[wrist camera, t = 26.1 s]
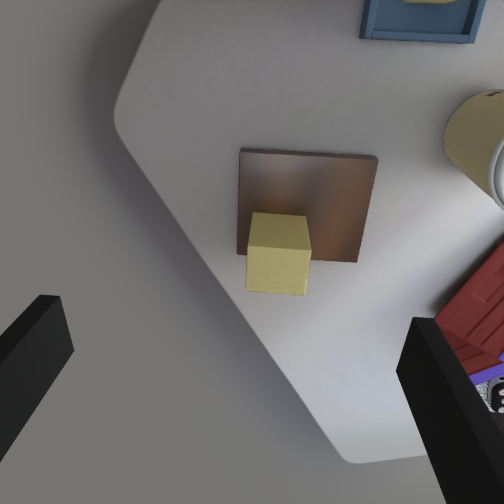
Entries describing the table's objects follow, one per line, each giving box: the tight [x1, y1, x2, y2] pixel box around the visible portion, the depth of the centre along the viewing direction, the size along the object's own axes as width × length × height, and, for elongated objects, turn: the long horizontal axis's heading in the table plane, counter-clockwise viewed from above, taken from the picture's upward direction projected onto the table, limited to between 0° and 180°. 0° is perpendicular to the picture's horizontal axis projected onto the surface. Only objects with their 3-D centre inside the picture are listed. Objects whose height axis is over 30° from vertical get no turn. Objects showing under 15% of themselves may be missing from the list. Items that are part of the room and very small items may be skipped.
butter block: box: [245, 212, 311, 295], centre depth 38 cm, size 6×5×8 cm
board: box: [237, 148, 379, 263], centre depth 41 cm, size 14×12×2 cm
